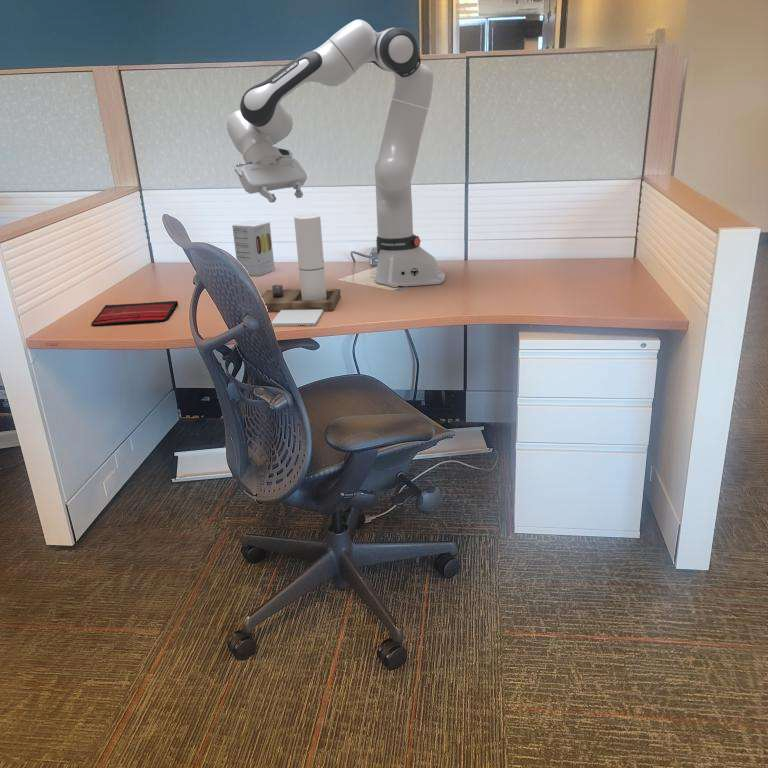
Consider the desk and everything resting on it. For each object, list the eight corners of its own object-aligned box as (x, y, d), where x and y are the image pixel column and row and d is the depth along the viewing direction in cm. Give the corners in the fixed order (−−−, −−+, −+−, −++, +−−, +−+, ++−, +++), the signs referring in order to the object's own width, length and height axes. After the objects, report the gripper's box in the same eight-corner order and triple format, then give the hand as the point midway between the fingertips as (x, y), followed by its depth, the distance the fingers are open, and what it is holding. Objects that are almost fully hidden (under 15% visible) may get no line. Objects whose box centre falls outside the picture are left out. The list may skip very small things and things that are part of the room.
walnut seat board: (340, 297, 201) (339, 278, 199) (333, 311, 188) (331, 291, 186) (268, 298, 203) (266, 280, 201) (256, 312, 190) (253, 293, 188)
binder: (105, 304, 198) (177, 299, 199) (106, 311, 199) (179, 307, 200) (88, 323, 183) (166, 318, 185) (90, 331, 184) (168, 326, 186)
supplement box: (258, 276, 229) (252, 226, 222) (237, 274, 233) (230, 225, 226) (275, 270, 236) (270, 221, 230) (254, 268, 240) (249, 220, 234)
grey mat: (323, 312, 187) (323, 309, 187) (315, 325, 176) (315, 322, 176) (281, 312, 189) (280, 310, 188) (270, 326, 178) (270, 323, 177)
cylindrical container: (328, 300, 198) (322, 213, 188) (324, 307, 192) (317, 218, 182) (305, 300, 199) (297, 214, 189) (300, 307, 192) (291, 219, 182)
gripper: (235, 156, 183) (260, 195, 180) (295, 149, 196) (319, 186, 193) (228, 172, 188) (252, 211, 185) (287, 165, 201) (310, 201, 198)
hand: (287, 198), depth 189 cm, fingers open, 8 cm apart
